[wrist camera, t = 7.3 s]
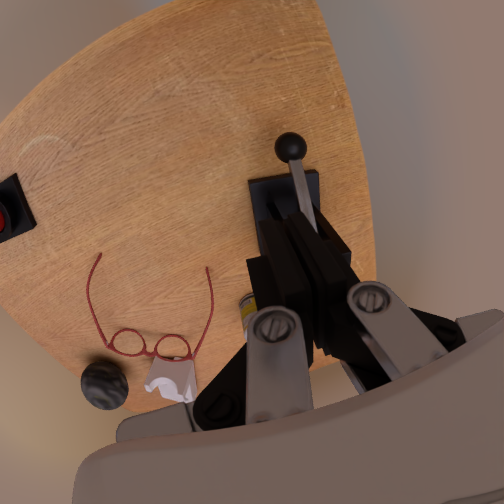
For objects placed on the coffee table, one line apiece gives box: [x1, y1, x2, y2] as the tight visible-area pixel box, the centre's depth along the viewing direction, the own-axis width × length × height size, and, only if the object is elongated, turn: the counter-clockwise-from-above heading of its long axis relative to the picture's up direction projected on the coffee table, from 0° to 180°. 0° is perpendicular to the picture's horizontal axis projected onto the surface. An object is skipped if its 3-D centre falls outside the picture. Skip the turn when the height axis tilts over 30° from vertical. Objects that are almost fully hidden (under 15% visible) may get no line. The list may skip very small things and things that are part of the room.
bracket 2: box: [248, 169, 351, 265], centre depth 28 cm, size 10×8×13 cm
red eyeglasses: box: [86, 253, 214, 362], centre depth 36 cm, size 17×16×5 cm
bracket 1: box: [144, 356, 197, 403], centre depth 46 cm, size 13×7×8 cm, turn 174°
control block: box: [0, 173, 37, 243], centre depth 24 cm, size 10×8×3 cm
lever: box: [274, 132, 318, 233], centre depth 24 cm, size 14×3×3 cm
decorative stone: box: [81, 362, 129, 410], centre depth 42 cm, size 10×10×10 cm
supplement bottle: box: [239, 293, 257, 341], centre depth 37 cm, size 5×5×8 cm
